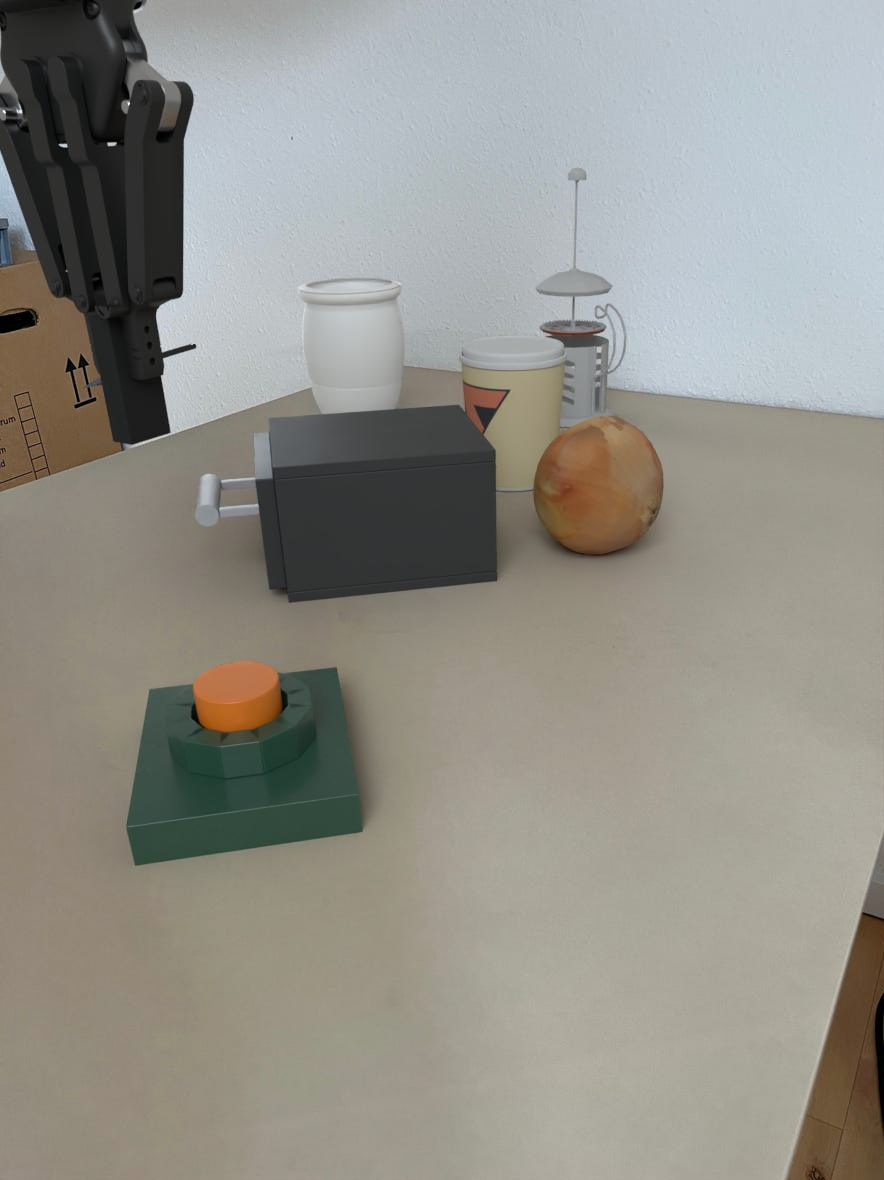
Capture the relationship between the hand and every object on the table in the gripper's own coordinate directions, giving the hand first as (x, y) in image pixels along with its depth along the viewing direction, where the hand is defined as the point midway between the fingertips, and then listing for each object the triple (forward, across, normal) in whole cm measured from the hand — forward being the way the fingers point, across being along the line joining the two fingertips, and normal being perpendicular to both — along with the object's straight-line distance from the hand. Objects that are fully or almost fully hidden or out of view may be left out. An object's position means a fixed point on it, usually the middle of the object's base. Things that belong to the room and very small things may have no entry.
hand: (142, 436), depth 53 cm
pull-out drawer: (+13, -2, +16) cm, 21 cm away
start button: (+10, +12, -7) cm, 17 cm away
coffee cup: (+14, 0, +40) cm, 42 cm away
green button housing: (+14, +12, -7) cm, 20 cm away
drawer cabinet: (+14, +1, +19) cm, 23 cm away
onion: (+14, +14, +29) cm, 35 cm away
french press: (+14, -5, +62) cm, 64 cm away
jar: (+14, -23, +46) cm, 53 cm away
